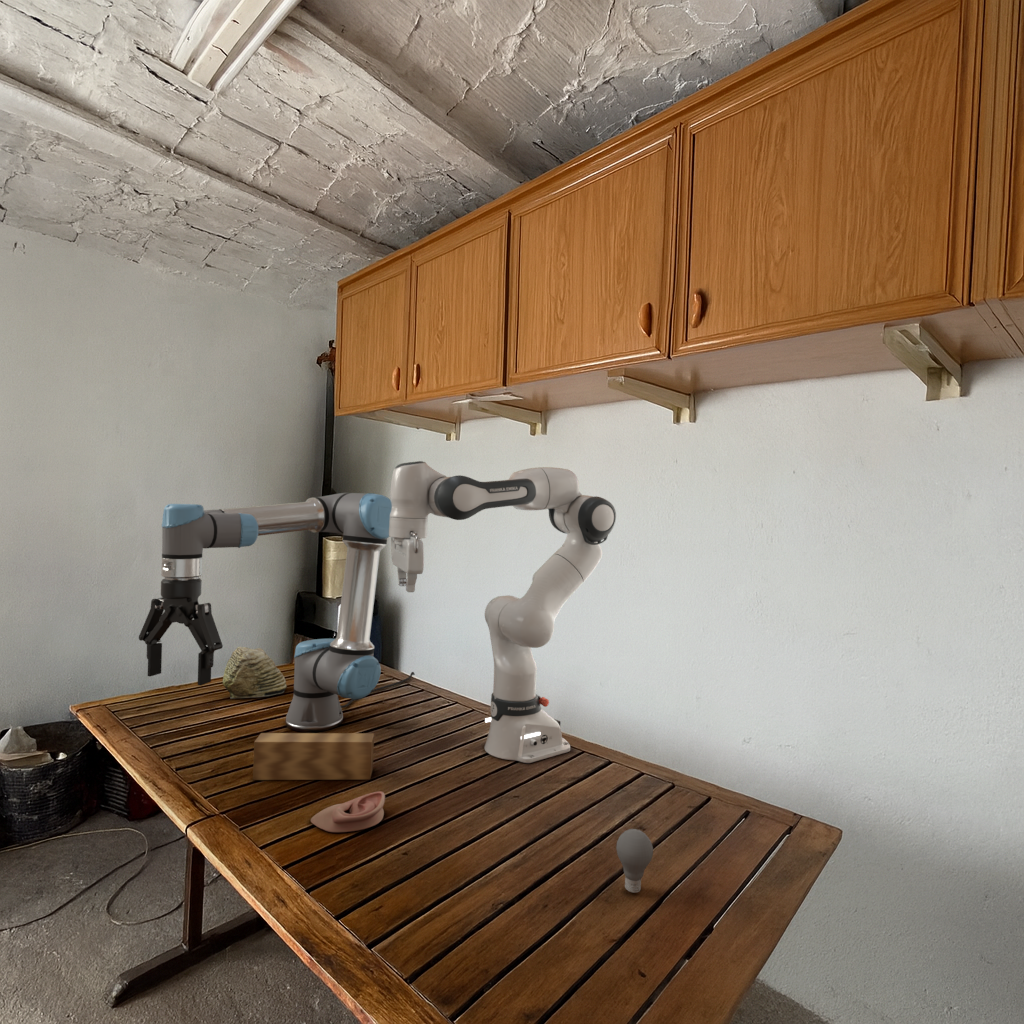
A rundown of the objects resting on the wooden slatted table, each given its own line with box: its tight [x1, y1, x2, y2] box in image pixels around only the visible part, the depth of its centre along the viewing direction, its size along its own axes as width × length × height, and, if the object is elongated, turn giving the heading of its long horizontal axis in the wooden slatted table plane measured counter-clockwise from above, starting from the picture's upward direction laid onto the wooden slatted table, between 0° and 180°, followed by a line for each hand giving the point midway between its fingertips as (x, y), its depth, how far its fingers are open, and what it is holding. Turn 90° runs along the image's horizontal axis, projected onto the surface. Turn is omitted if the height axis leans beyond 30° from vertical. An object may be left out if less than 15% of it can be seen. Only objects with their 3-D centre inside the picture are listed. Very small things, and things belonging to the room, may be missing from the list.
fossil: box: [222, 646, 288, 699], centre depth 198 cm, size 9×18×15 cm, turn 132°
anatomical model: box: [310, 790, 386, 833], centre depth 125 cm, size 13×4×12 cm
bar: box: [252, 732, 375, 781], centre depth 144 cm, size 26×5×9 cm, turn 96°
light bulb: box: [615, 828, 654, 894], centre depth 106 cm, size 6×6×10 cm
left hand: (178, 679), depth 132 cm, fingers open, 13 cm apart
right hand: (406, 588), depth 149 cm, fingers open, 8 cm apart
